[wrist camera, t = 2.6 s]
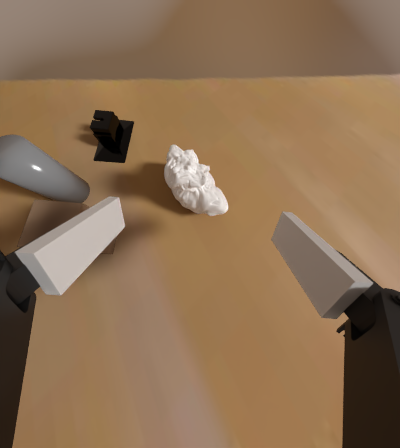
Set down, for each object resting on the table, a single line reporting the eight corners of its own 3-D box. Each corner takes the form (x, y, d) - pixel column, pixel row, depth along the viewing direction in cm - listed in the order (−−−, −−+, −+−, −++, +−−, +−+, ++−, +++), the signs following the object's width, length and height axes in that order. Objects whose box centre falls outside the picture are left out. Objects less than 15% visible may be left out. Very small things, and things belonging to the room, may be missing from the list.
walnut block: (79, 251, 22) (16, 246, 14) (88, 219, 23) (34, 199, 15) (113, 254, 22) (68, 250, 14) (119, 222, 23) (81, 203, 16)
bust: (174, 179, 28) (119, 172, 18) (198, 143, 24) (147, 110, 15) (215, 225, 26) (180, 246, 16) (248, 194, 22) (229, 196, 13)
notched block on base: (105, 114, 29) (89, 88, 25) (142, 118, 29) (132, 92, 25) (89, 169, 26) (67, 150, 22) (130, 172, 26) (116, 154, 22)
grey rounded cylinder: (54, 205, 24) (-29, 173, 15) (63, 177, 25) (-9, 132, 16) (85, 207, 24) (20, 176, 15) (92, 179, 25) (37, 136, 16)
